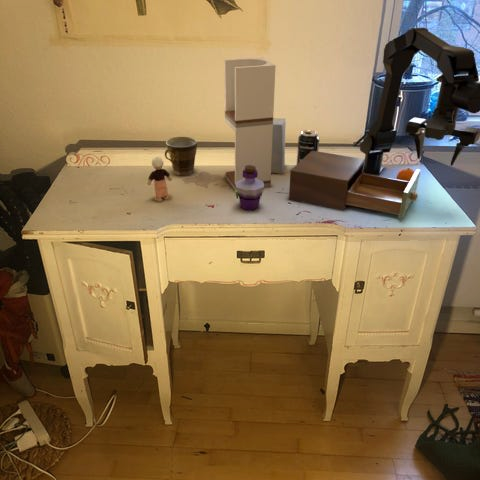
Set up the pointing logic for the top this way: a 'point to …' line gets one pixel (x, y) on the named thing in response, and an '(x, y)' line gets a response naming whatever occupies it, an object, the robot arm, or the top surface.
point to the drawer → (383, 193)
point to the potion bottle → (249, 189)
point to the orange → (405, 175)
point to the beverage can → (307, 144)
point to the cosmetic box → (278, 146)
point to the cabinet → (324, 179)
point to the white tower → (250, 115)
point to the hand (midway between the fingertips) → (435, 161)
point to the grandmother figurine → (159, 179)
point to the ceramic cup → (182, 154)
